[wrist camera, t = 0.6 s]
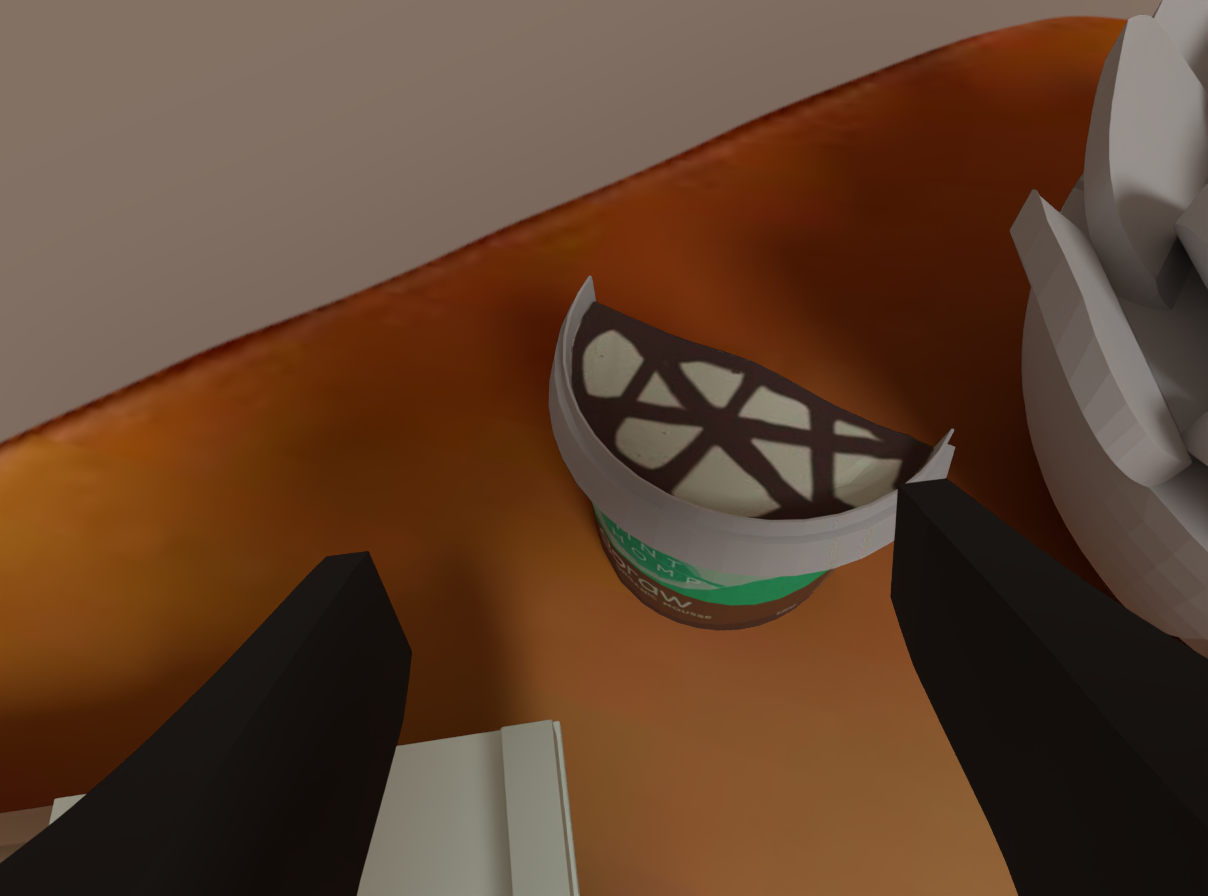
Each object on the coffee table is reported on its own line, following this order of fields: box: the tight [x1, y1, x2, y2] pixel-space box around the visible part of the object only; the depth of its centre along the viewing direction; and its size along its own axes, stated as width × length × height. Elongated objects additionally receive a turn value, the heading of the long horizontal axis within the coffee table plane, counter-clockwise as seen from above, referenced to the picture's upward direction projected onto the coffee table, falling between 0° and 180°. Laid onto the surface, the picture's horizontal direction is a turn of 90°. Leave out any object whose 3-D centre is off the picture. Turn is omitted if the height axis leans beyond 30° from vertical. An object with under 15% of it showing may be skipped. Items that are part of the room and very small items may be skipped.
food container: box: [549, 275, 955, 630], centre depth 25 cm, size 12×6×10 cm, turn 59°
